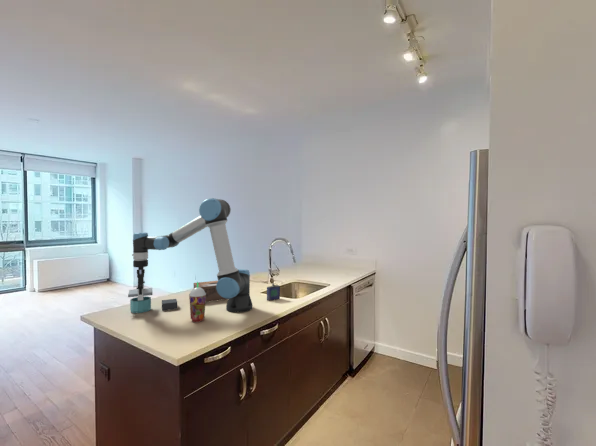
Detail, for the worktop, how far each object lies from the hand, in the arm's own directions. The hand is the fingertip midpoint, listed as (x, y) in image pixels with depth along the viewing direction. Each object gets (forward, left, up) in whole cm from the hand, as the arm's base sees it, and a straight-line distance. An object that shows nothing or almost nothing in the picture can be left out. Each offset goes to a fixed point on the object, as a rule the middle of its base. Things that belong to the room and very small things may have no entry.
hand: (140, 297), depth 176 cm
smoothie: (-31, -27, -8) cm, 42 cm away
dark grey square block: (-2, -15, -7) cm, 17 cm away
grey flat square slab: (0, 0, +2) cm, 2 cm away
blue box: (-10, -77, -8) cm, 78 cm away
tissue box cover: (+10, -44, -8) cm, 46 cm away
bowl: (0, 0, -7) cm, 7 cm away
